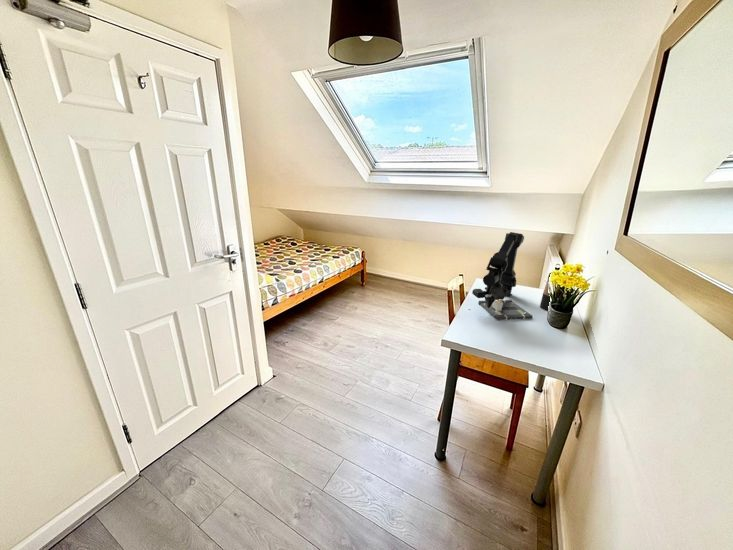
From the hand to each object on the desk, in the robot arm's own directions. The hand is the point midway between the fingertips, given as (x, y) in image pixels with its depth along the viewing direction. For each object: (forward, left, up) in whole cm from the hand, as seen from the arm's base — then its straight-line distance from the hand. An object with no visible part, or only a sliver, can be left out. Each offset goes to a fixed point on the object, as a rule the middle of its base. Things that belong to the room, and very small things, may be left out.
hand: (488, 307), depth 157 cm
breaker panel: (0, +10, -2) cm, 10 cm away
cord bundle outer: (+8, +10, -2) cm, 13 cm away
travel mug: (-1, +37, -3) cm, 37 cm away
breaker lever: (0, +5, -1) cm, 5 cm away
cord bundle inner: (-8, +10, -2) cm, 13 cm away
